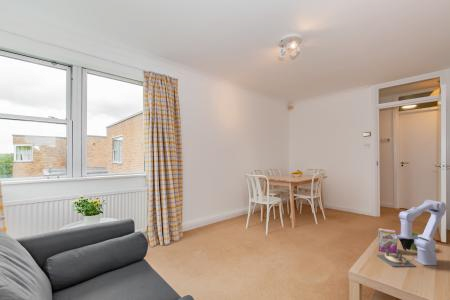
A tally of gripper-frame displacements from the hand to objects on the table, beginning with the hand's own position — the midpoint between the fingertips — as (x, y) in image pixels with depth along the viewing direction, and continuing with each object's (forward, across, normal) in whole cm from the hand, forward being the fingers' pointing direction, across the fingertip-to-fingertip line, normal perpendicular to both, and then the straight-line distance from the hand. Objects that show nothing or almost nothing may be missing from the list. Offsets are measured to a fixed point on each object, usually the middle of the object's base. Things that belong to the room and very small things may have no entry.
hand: (406, 249), depth 144 cm
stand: (+10, +4, -4) cm, 12 cm away
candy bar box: (+11, -1, -19) cm, 22 cm away
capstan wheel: (+9, +4, -4) cm, 11 cm away
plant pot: (+10, -25, -24) cm, 36 cm away
